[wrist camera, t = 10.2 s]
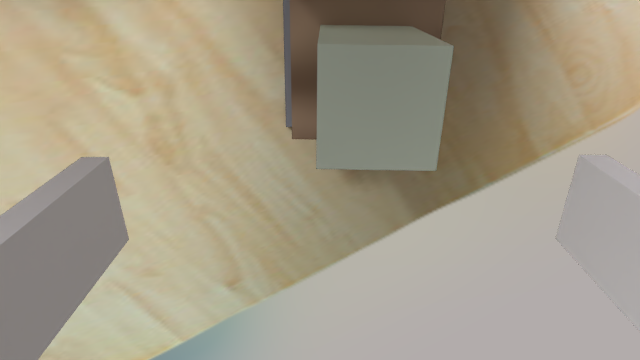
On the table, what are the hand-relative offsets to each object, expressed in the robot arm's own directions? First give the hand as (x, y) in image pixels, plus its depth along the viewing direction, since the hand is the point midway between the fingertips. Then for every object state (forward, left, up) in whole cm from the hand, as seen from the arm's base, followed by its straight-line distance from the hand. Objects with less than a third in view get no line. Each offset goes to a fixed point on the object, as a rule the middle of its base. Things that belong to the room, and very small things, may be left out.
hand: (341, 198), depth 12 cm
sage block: (0, +2, -19) cm, 19 cm away
